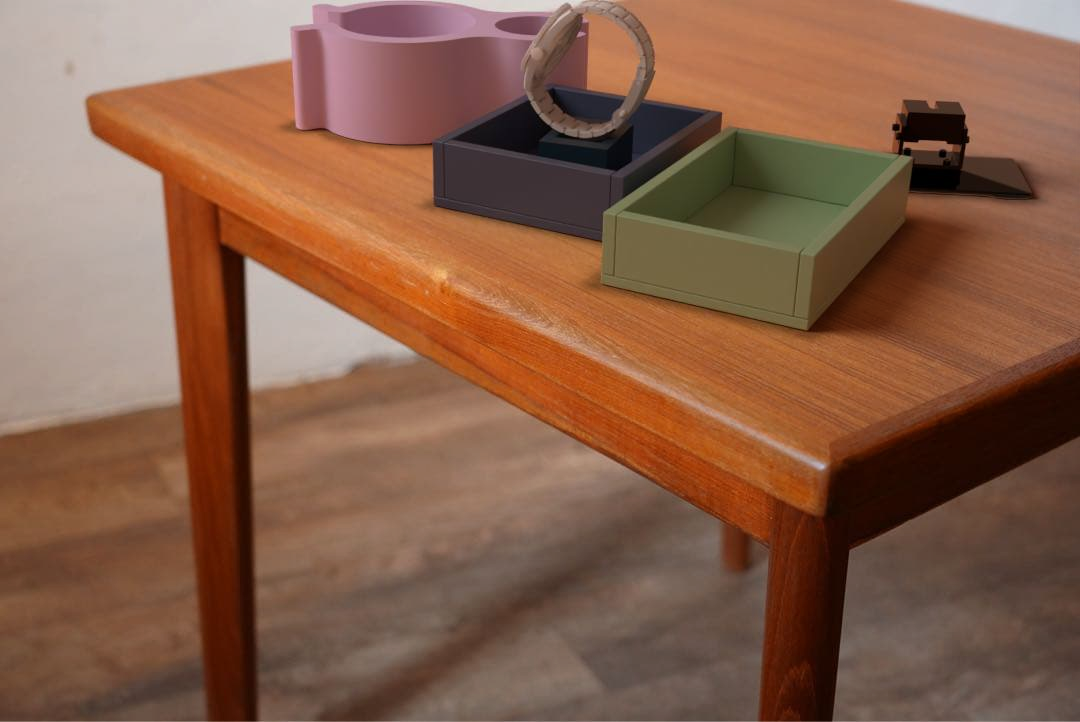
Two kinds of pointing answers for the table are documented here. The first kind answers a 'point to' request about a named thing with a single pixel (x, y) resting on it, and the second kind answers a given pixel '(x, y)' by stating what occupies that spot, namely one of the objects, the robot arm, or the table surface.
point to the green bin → (757, 225)
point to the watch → (578, 135)
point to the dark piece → (952, 155)
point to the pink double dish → (415, 67)
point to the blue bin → (558, 161)
